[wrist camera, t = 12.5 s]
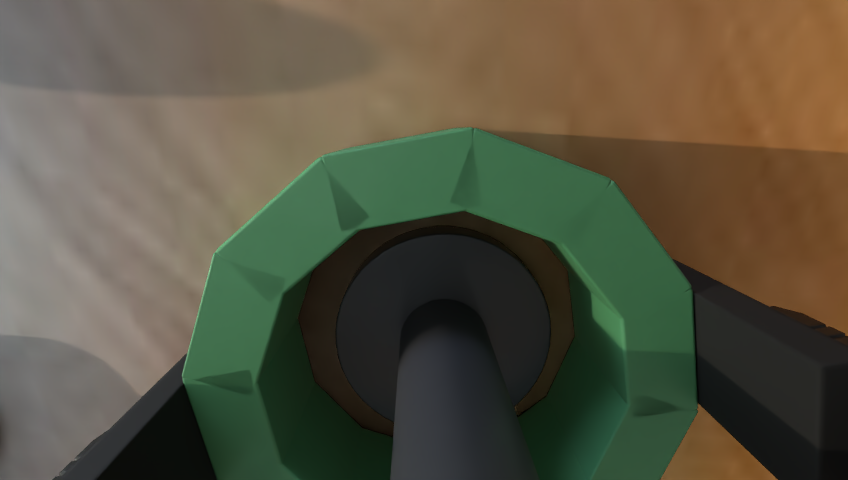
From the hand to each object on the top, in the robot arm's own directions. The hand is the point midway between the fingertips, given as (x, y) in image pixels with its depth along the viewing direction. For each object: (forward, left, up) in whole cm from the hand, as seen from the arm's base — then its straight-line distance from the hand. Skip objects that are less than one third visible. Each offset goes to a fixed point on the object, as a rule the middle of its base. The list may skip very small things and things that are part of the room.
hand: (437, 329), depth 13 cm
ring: (0, 0, 0) cm, 0 cm away
